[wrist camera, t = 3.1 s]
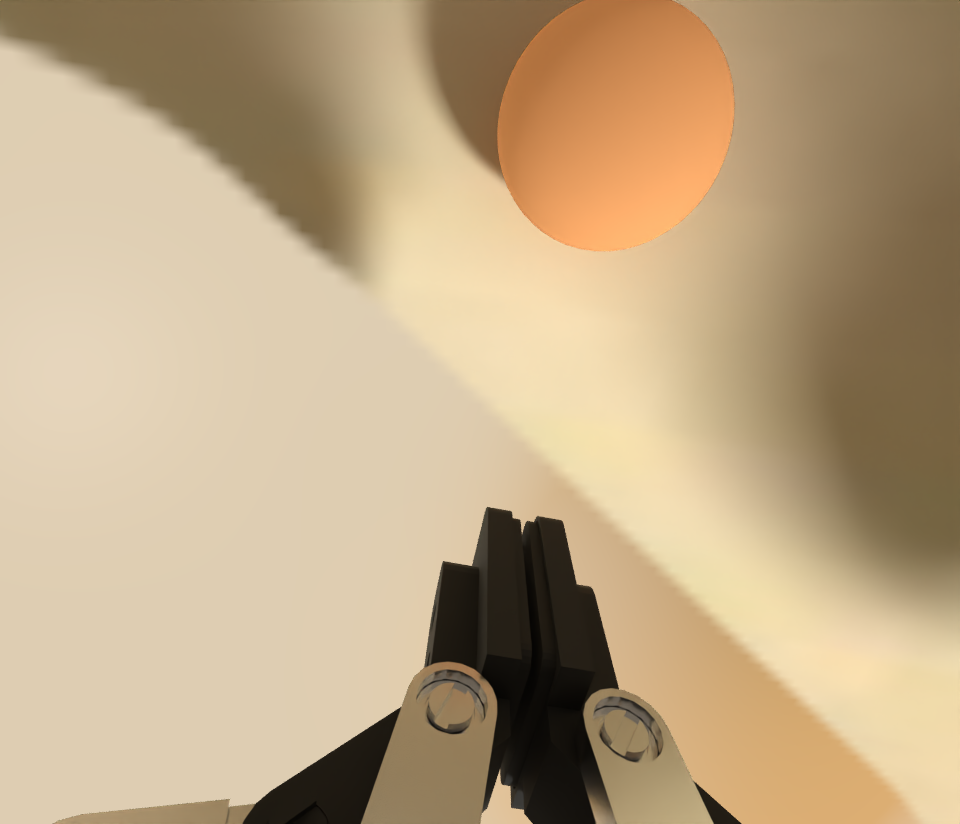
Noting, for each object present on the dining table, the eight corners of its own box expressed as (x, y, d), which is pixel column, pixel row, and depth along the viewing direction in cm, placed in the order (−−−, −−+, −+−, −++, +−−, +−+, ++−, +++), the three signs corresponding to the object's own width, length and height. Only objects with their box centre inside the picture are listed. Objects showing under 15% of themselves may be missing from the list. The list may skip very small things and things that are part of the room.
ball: (654, 258, 18) (719, 286, 13) (482, 221, 18) (471, 234, 13) (718, 55, 16) (831, -18, 10) (522, 10, 16) (530, -90, 10)
